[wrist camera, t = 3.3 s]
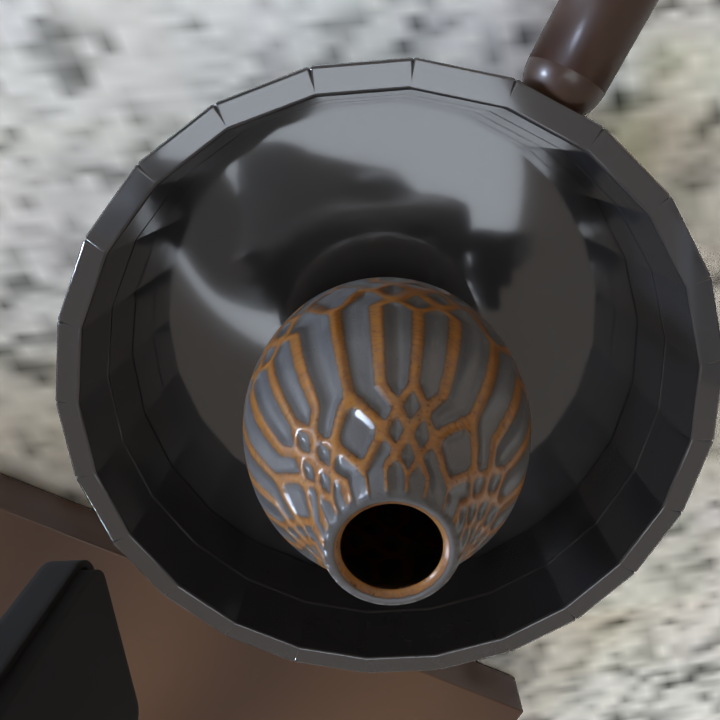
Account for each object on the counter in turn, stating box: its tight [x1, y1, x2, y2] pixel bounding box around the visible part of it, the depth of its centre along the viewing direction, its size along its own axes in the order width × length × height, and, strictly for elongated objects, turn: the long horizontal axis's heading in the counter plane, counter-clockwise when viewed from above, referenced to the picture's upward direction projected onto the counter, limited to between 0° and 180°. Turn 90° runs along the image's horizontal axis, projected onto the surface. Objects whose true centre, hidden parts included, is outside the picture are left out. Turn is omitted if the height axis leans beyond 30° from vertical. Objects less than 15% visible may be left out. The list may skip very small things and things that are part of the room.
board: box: [0, 474, 523, 720], centre depth 23 cm, size 20×11×2 cm, turn 64°
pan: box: [56, 58, 720, 673], centre depth 17 cm, size 16×16×4 cm
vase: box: [243, 277, 531, 605], centre depth 15 cm, size 7×7×9 cm
